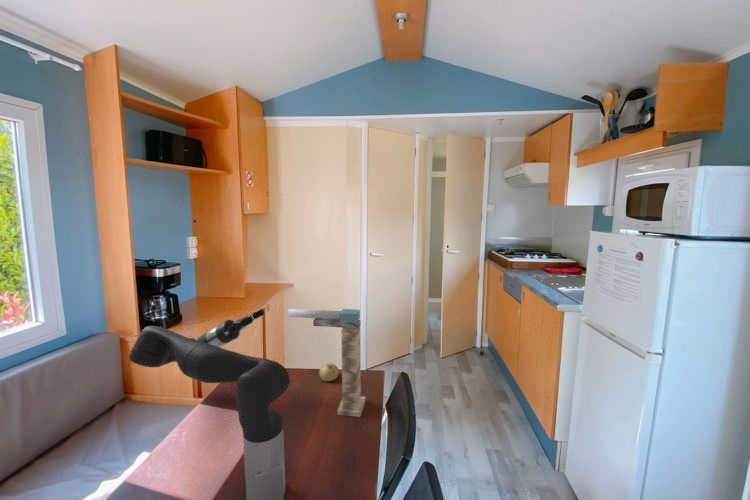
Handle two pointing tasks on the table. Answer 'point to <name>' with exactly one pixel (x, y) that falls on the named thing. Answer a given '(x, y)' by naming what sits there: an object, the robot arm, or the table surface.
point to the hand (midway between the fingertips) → (257, 315)
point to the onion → (328, 372)
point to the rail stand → (348, 366)
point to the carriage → (327, 314)
